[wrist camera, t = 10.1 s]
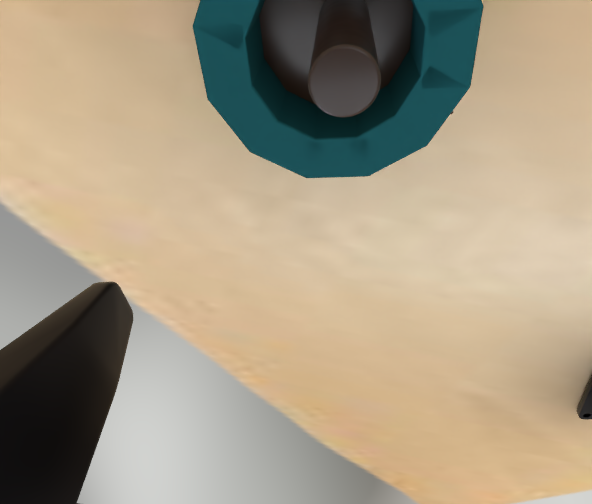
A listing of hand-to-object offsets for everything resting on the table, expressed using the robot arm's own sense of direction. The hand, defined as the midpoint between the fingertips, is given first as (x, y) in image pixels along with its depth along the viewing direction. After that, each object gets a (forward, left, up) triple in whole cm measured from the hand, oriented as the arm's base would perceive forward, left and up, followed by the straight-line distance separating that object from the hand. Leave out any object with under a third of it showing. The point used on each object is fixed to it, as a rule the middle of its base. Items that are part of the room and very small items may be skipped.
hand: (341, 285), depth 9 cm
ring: (+2, 0, -12) cm, 12 cm away
